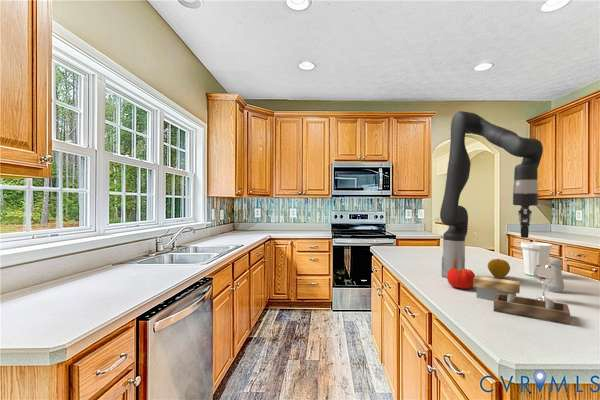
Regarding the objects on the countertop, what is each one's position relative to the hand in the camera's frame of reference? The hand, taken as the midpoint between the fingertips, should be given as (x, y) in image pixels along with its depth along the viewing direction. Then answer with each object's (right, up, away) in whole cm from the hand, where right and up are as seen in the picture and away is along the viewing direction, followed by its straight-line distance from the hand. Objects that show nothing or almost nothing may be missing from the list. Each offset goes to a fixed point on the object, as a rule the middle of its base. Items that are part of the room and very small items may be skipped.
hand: (524, 236), depth 119 cm
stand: (-12, -23, -2) cm, 25 cm away
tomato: (-17, -23, +13) cm, 31 cm away
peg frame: (-9, -23, -16) cm, 29 cm away
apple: (+9, -23, +31) cm, 39 cm away
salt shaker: (+19, -23, +9) cm, 31 cm away
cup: (+31, -23, +36) cm, 53 cm away
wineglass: (+6, -23, -1) cm, 24 cm away
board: (-12, -19, -2) cm, 22 cm away
